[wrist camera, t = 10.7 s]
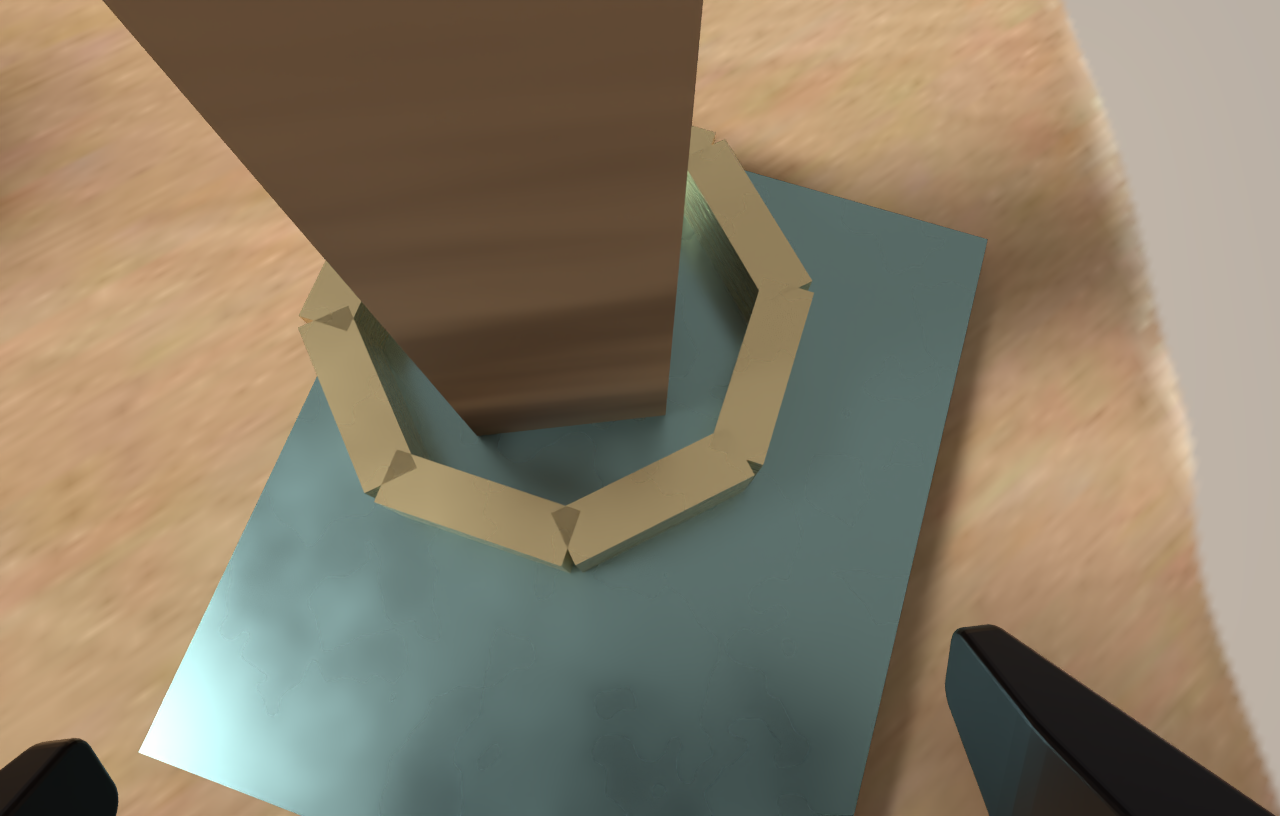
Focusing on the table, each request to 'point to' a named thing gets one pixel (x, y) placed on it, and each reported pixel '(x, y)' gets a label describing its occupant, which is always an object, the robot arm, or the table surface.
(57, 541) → the table surface
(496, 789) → the socket plate
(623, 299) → the peg
